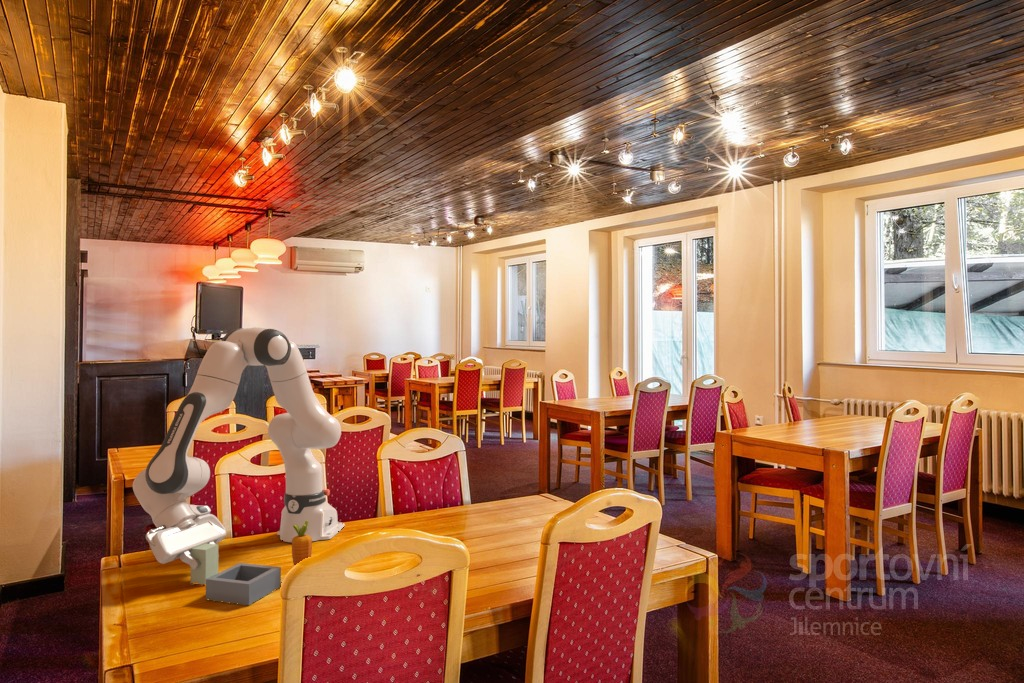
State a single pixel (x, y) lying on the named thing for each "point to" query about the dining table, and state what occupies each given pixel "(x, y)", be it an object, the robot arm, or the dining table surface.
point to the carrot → (301, 544)
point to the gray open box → (243, 583)
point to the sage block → (204, 562)
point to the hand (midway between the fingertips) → (206, 563)
